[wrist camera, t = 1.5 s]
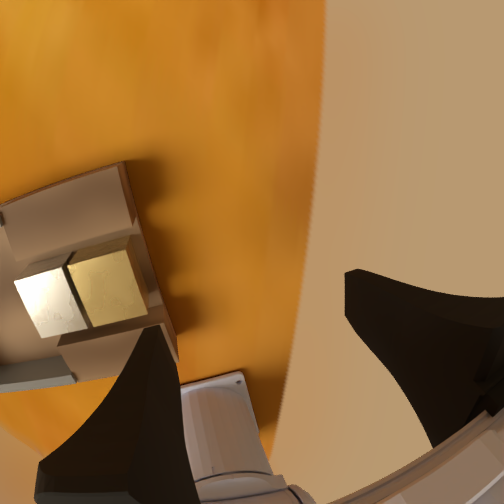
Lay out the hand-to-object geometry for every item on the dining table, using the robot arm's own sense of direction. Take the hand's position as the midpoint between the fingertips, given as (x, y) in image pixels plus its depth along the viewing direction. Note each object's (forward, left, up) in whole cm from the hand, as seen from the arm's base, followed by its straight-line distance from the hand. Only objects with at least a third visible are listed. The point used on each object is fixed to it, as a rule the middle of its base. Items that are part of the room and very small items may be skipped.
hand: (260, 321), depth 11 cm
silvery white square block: (0, +11, -9) cm, 14 cm away
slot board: (0, +13, -10) cm, 16 cm away
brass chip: (0, +7, -9) cm, 11 cm away
